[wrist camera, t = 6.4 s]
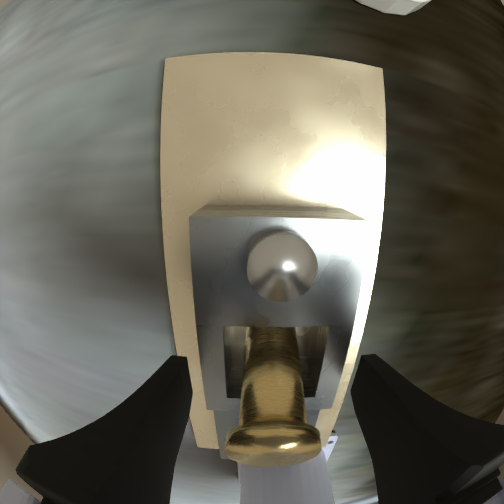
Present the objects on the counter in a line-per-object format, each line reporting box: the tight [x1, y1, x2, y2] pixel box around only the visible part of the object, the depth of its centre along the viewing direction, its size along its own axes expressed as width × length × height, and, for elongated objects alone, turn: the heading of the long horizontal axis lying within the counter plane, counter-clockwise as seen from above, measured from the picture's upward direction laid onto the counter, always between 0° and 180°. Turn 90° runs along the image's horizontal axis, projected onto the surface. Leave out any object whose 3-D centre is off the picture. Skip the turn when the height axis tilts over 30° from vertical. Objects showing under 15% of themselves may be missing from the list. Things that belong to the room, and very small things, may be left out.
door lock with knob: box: [160, 52, 386, 459], centre depth 12 cm, size 25×10×5 cm, turn 179°
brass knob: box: [224, 327, 322, 467], centre depth 10 cm, size 3×3×7 cm
